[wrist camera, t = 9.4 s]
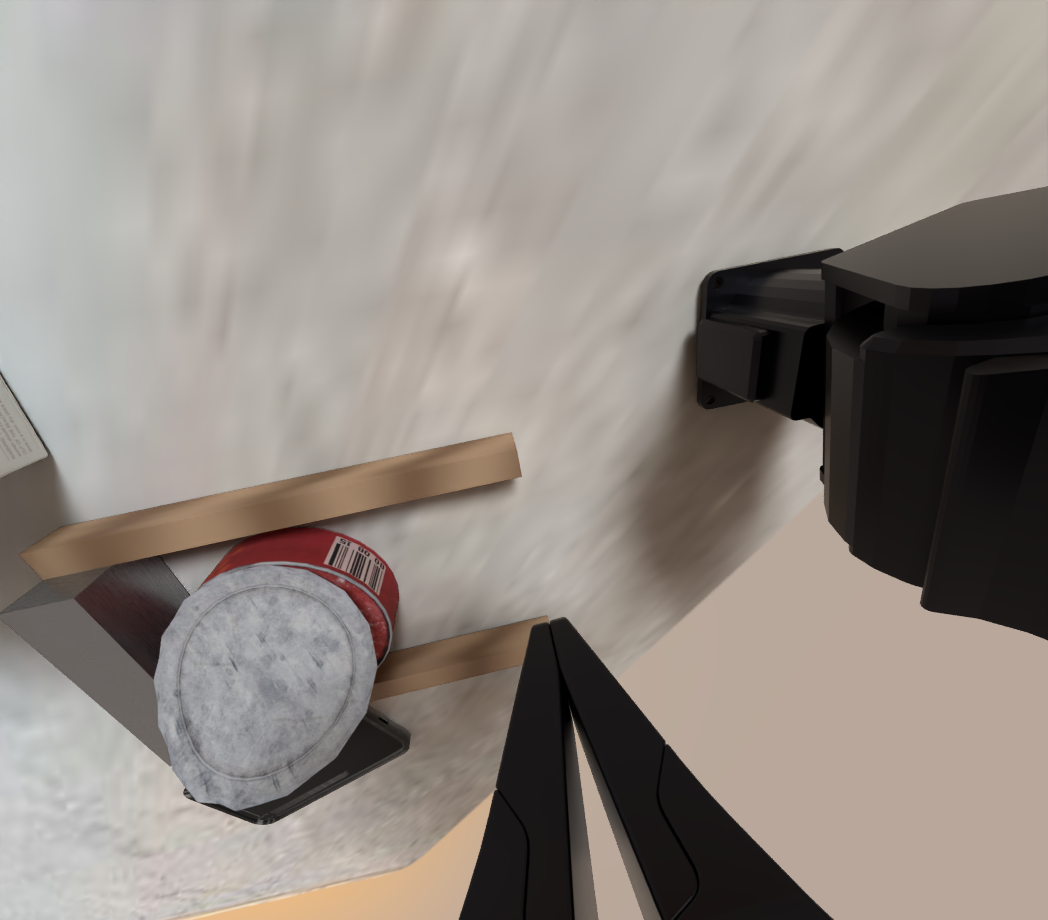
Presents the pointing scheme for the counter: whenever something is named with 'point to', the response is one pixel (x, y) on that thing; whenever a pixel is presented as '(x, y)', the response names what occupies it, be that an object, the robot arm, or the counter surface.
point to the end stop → (106, 635)
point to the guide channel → (307, 504)
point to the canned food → (273, 663)
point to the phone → (334, 769)
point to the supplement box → (16, 436)
